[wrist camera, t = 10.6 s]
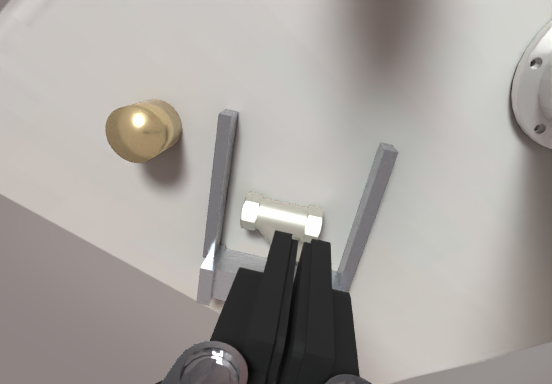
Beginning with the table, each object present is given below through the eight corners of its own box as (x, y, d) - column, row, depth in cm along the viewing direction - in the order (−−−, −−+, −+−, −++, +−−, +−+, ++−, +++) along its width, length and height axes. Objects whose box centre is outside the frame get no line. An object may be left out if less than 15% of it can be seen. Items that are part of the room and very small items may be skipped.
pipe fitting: (309, 252, 37) (323, 203, 34) (307, 275, 34) (323, 223, 31) (242, 236, 38) (250, 187, 34) (234, 258, 34) (242, 205, 31)
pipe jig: (392, 145, 31) (404, 160, 26) (336, 305, 39) (338, 337, 35) (226, 109, 31) (210, 118, 27) (206, 274, 40) (192, 301, 35)
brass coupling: (183, 105, 32) (160, 113, 27) (180, 152, 34) (158, 168, 29) (135, 94, 32) (104, 101, 27) (135, 142, 34) (106, 156, 29)
